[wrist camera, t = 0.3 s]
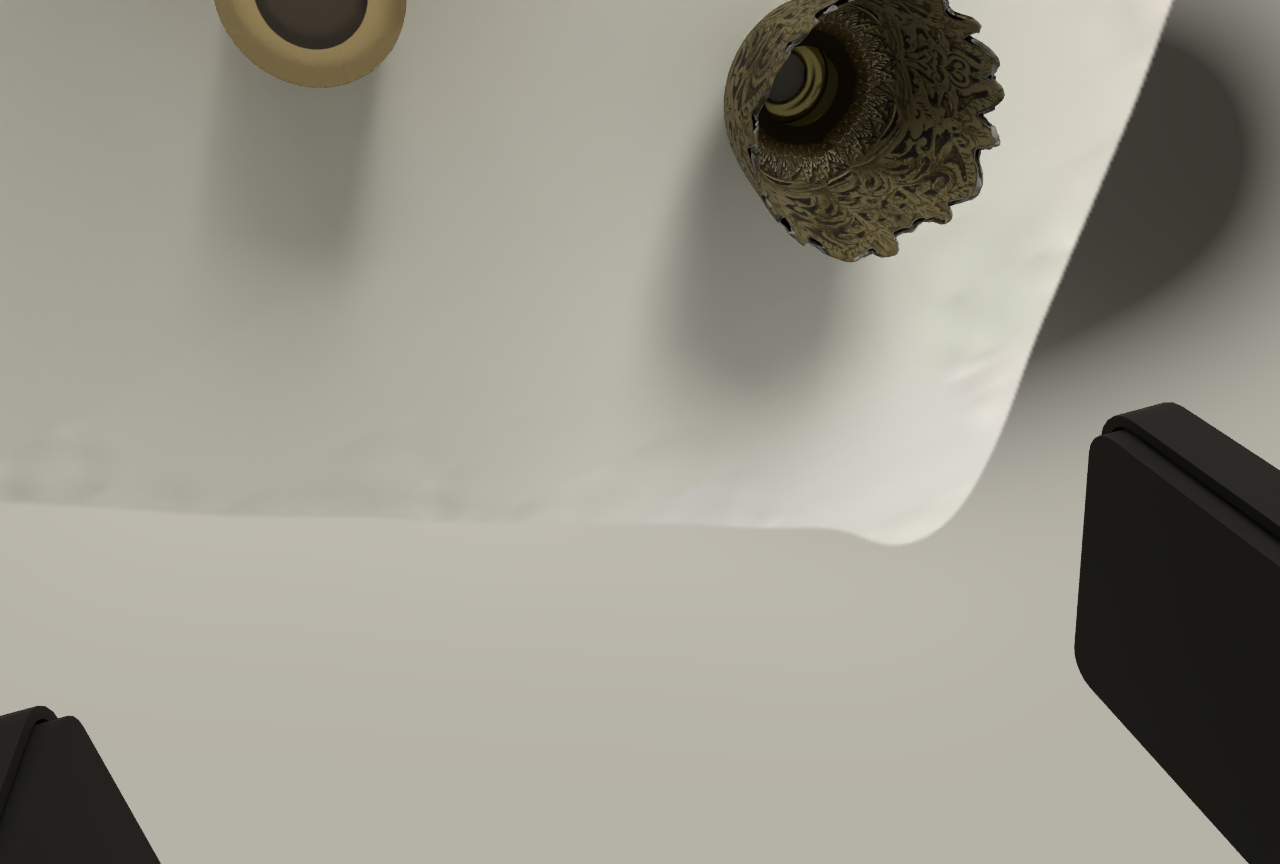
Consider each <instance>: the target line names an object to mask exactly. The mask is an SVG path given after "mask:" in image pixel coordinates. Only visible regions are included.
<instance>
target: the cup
mask: <svg viewBox="0 0 1280 864" xmlns="http://www.w3.org/2000/svg"><path fill="white" fill-rule="evenodd" d="M981 27H982V26H981V25H980V23H979V22H978V21H976V20H975V19H974V18H972V17H970V16H966V15H963V14H960V13H957V12H955V11H953V10H952V9H951V8H950V7H949V1H948V0H790V1H788V2H786V3H784V4H782V5H781V6H779V7H777V8H776V9H774V10H773V11H772V12H770V13H769V14H768V15H766V16H765V17H764V18H763V19H762V20H761V21H760V22H759V23H758V24H757V25H756V26H755V27H754V28H753V29H752V31H751V32H750V33H749V34H748V36H747V37H746V39H745V40H744V41H743V43H742V45H741V46H740V48H739V50H738V51H737V53H736V56H735V58H734V60H733V62H732V65H731V68H730V71H729V74H728V78H727V82H726V86H725V94H724V117H725V124H726V129H727V134H728V138H729V141H730V144H731V147H732V150H733V152H734V154H735V156H736V159H737V161H738V163H739V165H740V167H741V168H742V170H743V172H744V173H745V175H746V177H747V178H748V180H749V181H750V183H751V185H752V186H753V188H754V189H755V191H756V192H757V193H758V195H759V196H760V198H761V199H762V201H763V202H764V203H765V205H766V207H767V208H768V210H769V212H770V213H771V214H772V216H773V217H774V218H775V219H776V221H777V222H778V223H779V222H780V223H781V224H782V225H783V226H784V227H785V229H786V230H787V233H789V234H790V235H791V236H792V237H793V238H794V239H796V240H797V241H798V242H799V243H800V244H802V245H803V246H805V244H806V243H809V244H811V245H813V246H815V247H816V248H818V249H819V250H820V251H821V252H823V253H824V254H826V255H829V256H831V257H834V258H836V259H839V260H842V261H845V262H855V261H858V260H859V259H861V258H863V257H867V256H869V255H871V254H872V253H873V254H875V255H876V256H879V257H890V256H894V255H896V254H897V253H898V251H899V247H898V244H899V243H898V242H897V241H896V237H897V236H898V235H900V234H902V233H911V232H913V231H914V230H915V229H916V228H917V226H918V225H919V224H921V223H922V222H935V223H938V224H946V223H948V222H950V221H951V219H952V215H953V214H952V211H951V208H950V206H952V205H954V204H959V203H962V202H965V201H968V200H972V199H974V198H975V197H977V196H978V195H979V193H980V190H981V188H982V185H983V172H982V167H981V165H980V154H981V150H984V149H987V150H988V149H989V150H990V149H992V148H993V147H997V146H999V145H1000V139H999V135H998V133H997V131H996V127H995V126H993V125H992V124H990V123H989V122H988V120H987V119H986V118H985V117H984V114H986V113H989V112H991V111H993V110H995V106H996V105H998V104H999V103H1000V102H1001V101H1002V100H1003V98H1004V96H1005V95H1004V90H1003V88H1002V86H1001V85H1000V84H999V83H998V82H997V81H996V76H994V74H995V73H996V72H997V69H998V67H999V66H1000V62H999V59H998V57H997V56H996V54H995V53H994V52H993V51H992V50H991V49H990V48H988V47H987V46H986V45H985V44H983V43H982V42H980V41H978V40H977V39H975V38H973V37H972V36H970V35H971V34H974V33H979V32H980V29H981ZM790 53H794V54H796V55H797V56H798V57H799V58H800V59H801V60H802V62H803V64H804V66H805V71H806V76H805V81H804V84H803V87H802V88H801V90H800V91H799V93H798V94H797V95H796V96H795V97H793V98H792V99H790V100H787V101H783V102H777V101H773V100H771V99H769V98H768V96H769V94H770V92H771V89H772V85H773V82H774V80H775V78H776V75H777V74H778V72H779V70H780V69H781V67H782V66H783V64H784V63H785V61H786V60H787V58H788V57H789V55H790ZM991 74H992V75H991ZM894 238H895V239H894Z"/></svg>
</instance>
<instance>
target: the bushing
mask: <svg viewBox="0 0 1280 864" xmlns="http://www.w3.org/2000/svg"><path fill="white" fill-rule="evenodd" d="M214 1H215V5H216V9H217V11H218V14H219V16H220V19H221V22H222V23H223V25H224V27H225V29H226V31H227V33H228V34H229V36H230V37H231V39H232V40H233V42H234V43H235V44H236V46H237V47H238V48H239V49H240V50H241V51H242V52H243V54H244V55H245V56H247V57H248V58H249V59H250V60H251V61H252V62H253V63H254V64H256V65H257V66H258V67H260V68H261V69H263V70H264V71H266V72H267V73H269V74H271V75H273V76H275V77H277V78H279V79H281V80H284V81H286V82H289V83H293V84H297V85H300V86H307V87H333V86H339V85H343V84H346V83H350V82H352V81H354V80H357V79H359V78H361V77H363V76H364V75H366V74H368V73H369V72H371V71H372V70H373V69H374V68H376V67H377V66H378V65H379V64H380V63H381V62H382V61H383V60H384V59H385V58H386V57H387V55H388V54H389V53H390V51H391V50H392V48H393V47H394V45H395V43H396V41H397V39H398V37H399V34H400V32H401V29H402V26H403V22H404V17H405V11H406V0H214Z"/></svg>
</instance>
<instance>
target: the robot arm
mask: <svg viewBox="0 0 1280 864" xmlns="http://www.w3.org/2000/svg"><path fill="white" fill-rule="evenodd" d="M1074 649H1075V658H1076V662H1077V665H1078V668H1079V670H1080V673H1081V674H1082V676H1083V678H1084V680H1085V681H1086V683H1087V684H1088V685H1089V687H1090V688H1091V689H1092V690H1093V691H1094V692H1095V694H1096V695H1097V696H1098V697H1099V698H1100V699H1101V700H1102V701H1103V702H1104V704H1106V706H1107V707H1108V708H1109V709H1110V710H1111V711H1112V712H1113V714H1114V715H1115V716H1116V717H1117V718H1118V719H1119V720H1120V721H1121V722H1122V723H1123V725H1124V726H1125V727H1126V728H1127V729H1128V730H1129V731H1130V732H1131V733H1132V735H1133V736H1134V737H1135V738H1136V739H1137V740H1138V741H1139V742H1140V743H1141V745H1142V746H1143V747H1144V748H1145V749H1146V750H1147V751H1148V752H1149V753H1150V755H1151V756H1152V757H1153V758H1154V759H1155V760H1156V761H1157V762H1158V763H1159V765H1160V766H1161V767H1162V768H1163V769H1164V770H1165V771H1166V772H1167V773H1168V775H1169V776H1170V777H1171V778H1172V779H1173V780H1174V781H1175V782H1176V783H1177V784H1178V786H1179V787H1180V788H1181V789H1182V790H1183V791H1184V792H1185V793H1186V795H1187V796H1188V797H1189V798H1190V799H1191V800H1192V801H1193V802H1194V803H1195V805H1196V806H1197V807H1198V808H1199V809H1200V810H1201V811H1202V812H1203V813H1204V815H1205V816H1206V817H1207V818H1208V819H1209V820H1210V821H1211V822H1212V823H1213V825H1214V826H1215V827H1216V828H1217V829H1218V830H1219V831H1220V832H1221V833H1222V834H1223V836H1224V837H1225V838H1226V839H1227V840H1228V841H1229V842H1230V843H1231V845H1232V846H1233V847H1234V848H1235V849H1236V850H1237V851H1238V852H1239V853H1240V854H1241V856H1242V857H1243V858H1244V859H1245V860H1246V861H1247V862H1248V863H1249V864H1280V470H1278V469H1277V468H1275V467H1274V466H1272V465H1271V464H1269V463H1268V462H1266V461H1265V460H1263V459H1262V458H1260V457H1259V456H1257V455H1255V454H1254V453H1252V452H1251V451H1249V450H1248V449H1246V448H1245V447H1243V446H1242V445H1240V444H1239V443H1237V442H1236V441H1234V440H1233V439H1231V438H1230V437H1228V436H1227V435H1225V434H1223V433H1222V432H1220V431H1219V430H1217V429H1216V428H1214V427H1213V426H1211V425H1210V424H1208V423H1207V422H1205V421H1203V420H1202V419H1201V418H1199V417H1197V416H1196V415H1194V414H1193V413H1191V412H1190V411H1188V410H1187V409H1185V408H1184V407H1182V406H1180V405H1178V404H1175V403H1161V404H1157V405H1154V406H1150V407H1146V408H1143V409H1139V410H1135V411H1131V412H1127V413H1124V414H1120V415H1116V416H1114V417H1112V418H1110V419H1109V420H1107V422H1106V424H1105V425H1104V427H1103V430H1102V435H1101V436H1098V437H1096V438H1095V439H1094V440H1093V442H1092V443H1091V445H1090V450H1089V462H1088V473H1087V487H1086V500H1085V513H1084V526H1083V539H1082V553H1081V567H1080V579H1079V593H1078V605H1077V619H1076V632H1075V646H1074ZM0 864H160V861H159V860H158V858H157V856H156V854H155V853H154V851H153V849H152V847H151V845H150V844H149V842H148V840H147V838H146V837H145V835H144V833H143V831H142V829H141V828H140V826H139V824H138V822H137V821H136V819H135V817H134V816H133V814H132V812H131V810H130V808H129V807H128V805H127V803H126V801H125V799H124V798H123V796H122V794H121V792H120V791H119V789H118V787H117V785H116V784H115V782H114V780H113V778H112V777H111V775H110V773H109V771H108V769H107V768H106V766H105V764H104V762H103V761H102V759H101V757H100V755H99V754H98V752H97V750H96V748H95V747H94V745H93V743H92V741H91V739H90V737H89V736H88V734H87V732H86V730H85V729H84V727H83V725H82V724H81V723H80V722H79V720H78V719H76V718H75V717H74V716H65V717H62V718H57V717H56V715H55V714H54V712H53V711H51V710H50V709H48V708H47V707H46V706H35V707H32V708H28V709H25V710H21V711H17V712H13V713H10V714H6V715H2V716H0Z"/></svg>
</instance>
